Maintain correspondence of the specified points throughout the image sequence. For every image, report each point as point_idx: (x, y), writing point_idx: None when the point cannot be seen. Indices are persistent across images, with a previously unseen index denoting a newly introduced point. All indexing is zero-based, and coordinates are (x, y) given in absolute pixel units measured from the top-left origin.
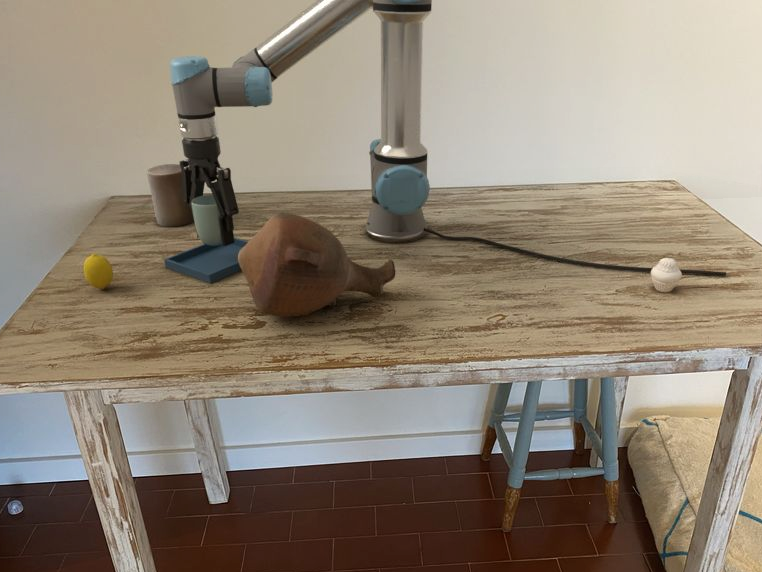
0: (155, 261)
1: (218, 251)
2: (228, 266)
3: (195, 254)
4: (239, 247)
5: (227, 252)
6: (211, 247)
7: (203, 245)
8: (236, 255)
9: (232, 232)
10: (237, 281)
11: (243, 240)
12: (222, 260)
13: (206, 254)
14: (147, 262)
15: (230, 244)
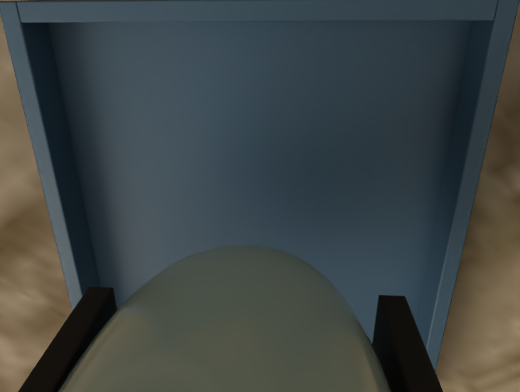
0: (17, 366)
1: (142, 160)
2: (439, 343)
3: (94, 261)
4: (189, 34)
5: (199, 142)
6: (70, 157)
7: (66, 222)
8: (282, 144)
9: (427, 365)
10: (508, 336)
11: (198, 5)
12: (271, 234)
13: (130, 225)
14: (5, 385)
15: (94, 32)
